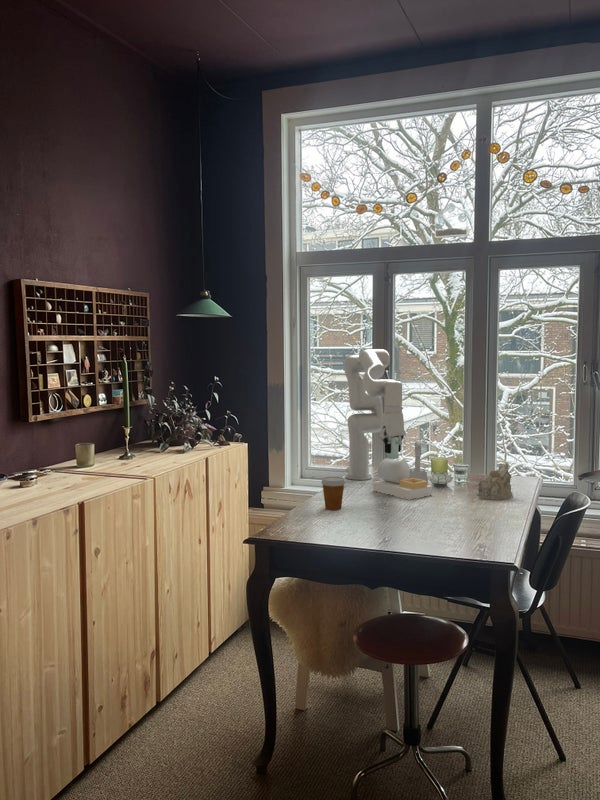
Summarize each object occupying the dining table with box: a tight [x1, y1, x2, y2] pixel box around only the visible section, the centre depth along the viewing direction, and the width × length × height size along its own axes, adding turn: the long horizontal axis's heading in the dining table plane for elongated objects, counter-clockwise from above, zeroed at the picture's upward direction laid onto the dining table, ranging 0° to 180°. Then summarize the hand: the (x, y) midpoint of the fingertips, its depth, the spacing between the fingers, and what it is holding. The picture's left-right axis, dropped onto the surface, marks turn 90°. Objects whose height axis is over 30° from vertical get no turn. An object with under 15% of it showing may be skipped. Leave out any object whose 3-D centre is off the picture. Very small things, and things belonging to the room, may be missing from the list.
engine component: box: [408, 440, 429, 485], centre depth 311 cm, size 11×20×10 cm
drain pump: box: [386, 436, 403, 460], centre depth 283 cm, size 8×5×9 cm, turn 37°
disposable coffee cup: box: [321, 476, 346, 511], centre depth 265 cm, size 10×10×12 cm
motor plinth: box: [372, 457, 433, 500], centre depth 292 cm, size 22×14×14 cm, turn 38°
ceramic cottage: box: [476, 462, 514, 500], centre depth 288 cm, size 16×16×15 cm
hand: (392, 451), depth 285 cm, fingers closed on drain pump, 5 cm apart
